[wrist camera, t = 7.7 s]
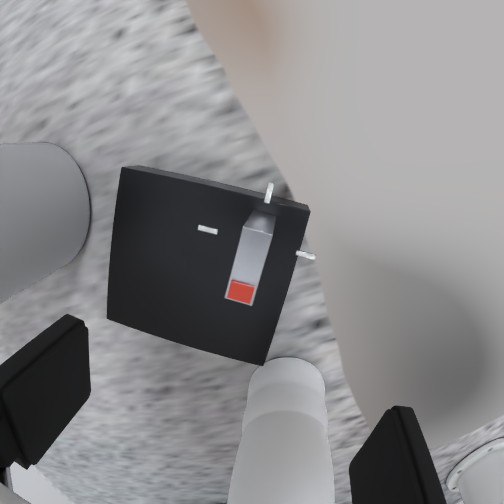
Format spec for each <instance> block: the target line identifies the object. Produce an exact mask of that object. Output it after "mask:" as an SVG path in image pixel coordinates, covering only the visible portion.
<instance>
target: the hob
mask: <svg viewBox="0 0 504 504" xmlns="http://www.w3.org/2000/svg"><path fill="white" fill-rule="evenodd" d="M273 187H274V183H271V182H269V184H268V188H267V192H266V194H263V193H259V192H255V191H251V190H247V189H243V188H239V187H235V186H231V185H226V184H222V183H218V182H214V181H209V180H205V179H200V178H196V177H191V176H187V175H182V174H178V173H173V172H168V171H163V170H159V169H154V168H149V167H144V166H128V167H122V168H121V174H120V180H119V186H118V193H117V200H116V207H115V215H114V223H113V232H112V242H111V252H110V264H109V278H108V296H107V319H109V320H112V321H114V322H117V323H120V324H123V325H125V326H128V327H131V328H134V329H137V330H140V331H143V332H146V333H149V334H152V335H155V336H158V337H161V338H164V339H167V340H170V341H173V342H176V343H180V344H183V345H186V346H189V347H193V348H196V349H200V350H203V351H206V352H210V353H213V354H217V355H221V356H224V357H228V358H232V359H236V360H239V361H243V362H247V363H251V364H255V365H259V366H264V363H265V360H266V357H267V354H268V351H269V348H270V345H271V342H272V338H273V335H274V332H275V329H276V326H277V323H278V320H279V316H280V313H281V310H282V307H283V304H284V300H285V297H286V294H287V291H288V287H289V284H290V281H291V277H292V274H293V271H294V267H295V264H296V261H297V257H298V256H301V257H305V258H309V259H312V260H315V258H316V255H315V254H311V253H307V252H304V251H300V247H301V244H302V240H303V237H304V233H305V230H306V226H307V222H308V218H309V215H310V210H309V207H308V206H307V205H305V204H301V203H298V202H294V201H290V200H286V199H283V198H279V197H275V196H271V195H272V191H273ZM253 210H256V211H259V212H263V213H266V214H270V215H273V216H276V221H275V226H274V232H273V237H272V240H271V243H270V247H269V250H268V254H267V257H266V261H265V264H264V267H263V271H262V274H261V278H260V281H259V284H258V288H257V291H256V294H255V298H254V301H253V305H252V306H250V305H247V304H243V303H240V302H236V301H233V300H230V299H226V298H225V293H226V289H227V285H228V281H229V277H230V274H231V270H232V266H233V262H234V258H235V254H236V250H237V247H238V243H239V239H240V235H241V231H242V228H243V226H244V224H245V222H246V221H247V219H248V218H249V216H250V215H251V213H252V212H253Z"/></svg>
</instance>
